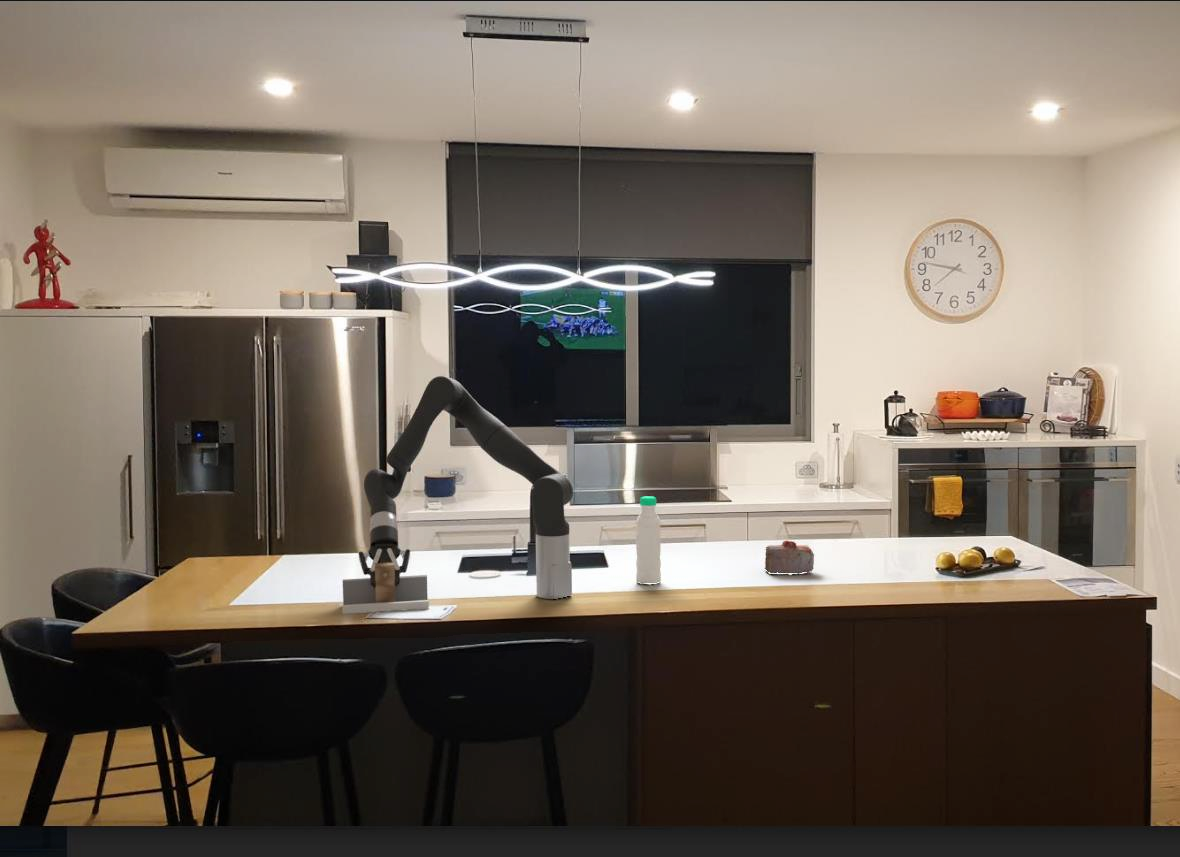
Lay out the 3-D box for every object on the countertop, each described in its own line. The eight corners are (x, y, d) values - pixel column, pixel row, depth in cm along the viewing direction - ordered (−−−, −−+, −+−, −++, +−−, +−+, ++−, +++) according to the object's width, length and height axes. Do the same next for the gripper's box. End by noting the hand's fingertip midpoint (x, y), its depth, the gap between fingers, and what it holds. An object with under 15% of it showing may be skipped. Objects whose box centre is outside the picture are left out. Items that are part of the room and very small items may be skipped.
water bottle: (659, 579, 290) (659, 495, 288) (662, 585, 283) (661, 498, 281) (635, 580, 289) (634, 495, 287) (637, 585, 282) (636, 499, 280)
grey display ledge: (427, 600, 268) (426, 574, 268) (428, 608, 259) (428, 582, 259) (343, 605, 264) (342, 579, 263) (342, 614, 255) (341, 587, 254)
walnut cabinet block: (395, 598, 264) (394, 561, 264) (395, 603, 259) (394, 565, 259) (376, 600, 263) (375, 562, 262) (375, 604, 258) (374, 566, 258)
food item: (807, 569, 301) (807, 537, 300) (815, 575, 293) (815, 542, 292) (763, 571, 300) (763, 538, 299) (769, 576, 292) (770, 544, 292)
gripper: (356, 525, 266) (356, 579, 255) (410, 523, 269) (413, 576, 258) (357, 541, 272) (357, 594, 261) (410, 538, 275) (413, 591, 264)
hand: (385, 585), depth 260 cm, fingers closed on walnut cabinet block, 5 cm apart
